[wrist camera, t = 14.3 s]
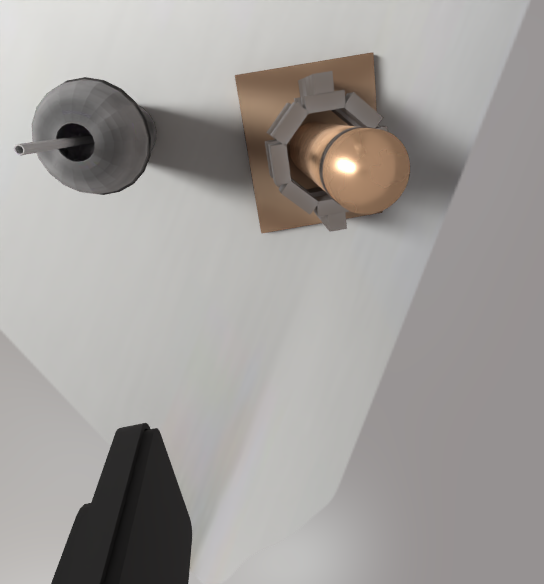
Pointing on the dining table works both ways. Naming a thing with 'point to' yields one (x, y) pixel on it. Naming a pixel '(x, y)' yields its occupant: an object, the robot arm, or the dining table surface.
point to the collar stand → (288, 119)
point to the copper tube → (352, 164)
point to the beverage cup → (91, 136)
